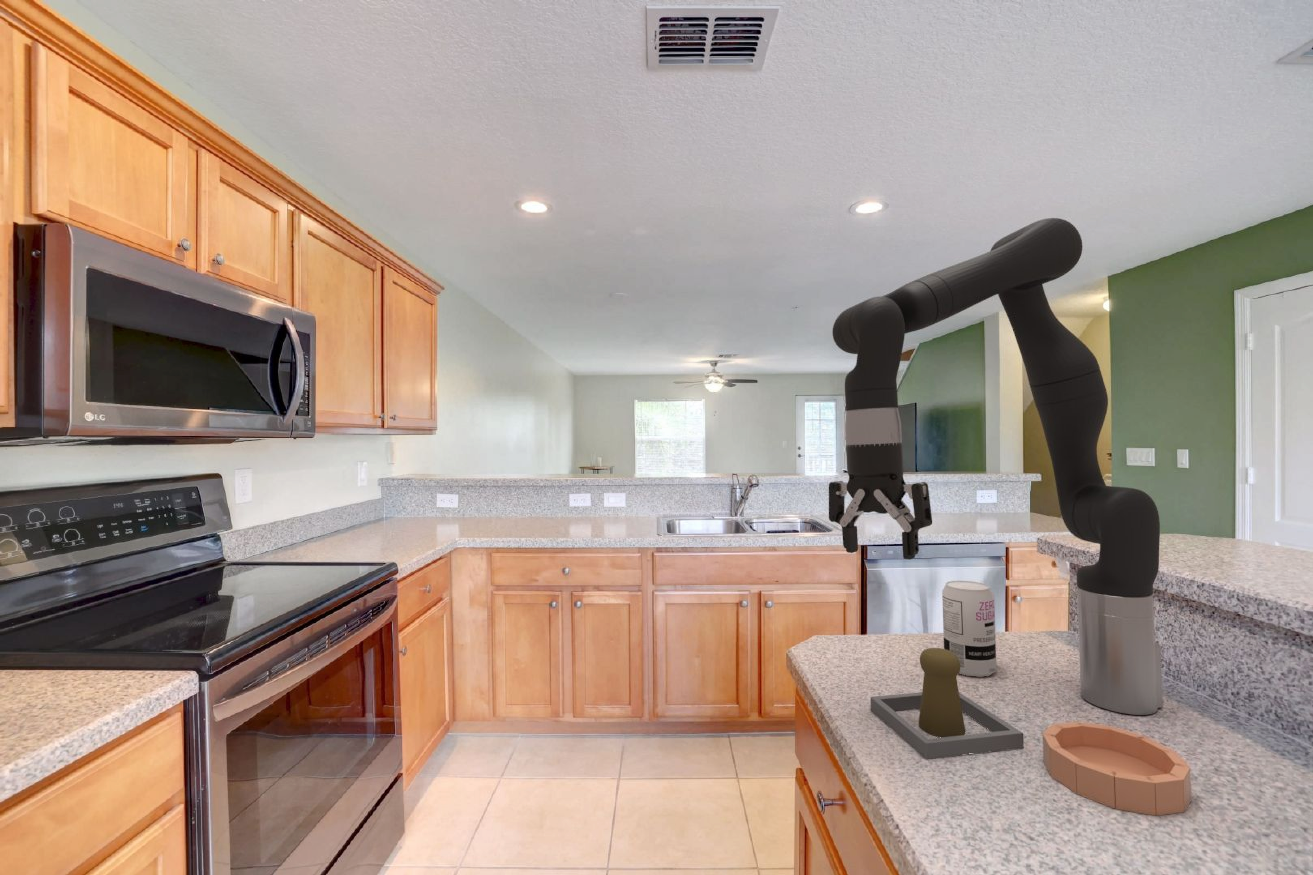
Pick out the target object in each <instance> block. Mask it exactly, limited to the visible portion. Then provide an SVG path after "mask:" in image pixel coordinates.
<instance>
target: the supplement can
mask: <svg viewBox="0 0 1313 875" xmlns="http://www.w3.org/2000/svg"><path fill="white" fill-rule="evenodd" d="M990 587H991V586H990V585H988V584H986V583H982V582H977V581H971V580H950V581H947V582H945V585H944V587H943V589H942V591H941V592H942V594H941V595H942V596H941V597H942V598H941V599H942V626H943V630H942V631H943V649H946V650H949V651H951V652H953V653H955V654H956V655H957V657H958V659H959V661H960V672H959V674H958V675H961V674H962V676H965V675H966V677H970V676H977V677H976V678H983V677H982V676H987V677H991V676H992V675H993V674H994V673H995V672H996V671H997V668H998V667H997V643H996V642H997V640H996V638H997V637H996V610H995V609H996V606H995V595H994V593H993V592H992V590H991V588H990ZM992 673H993V674H992ZM991 674H992V675H991ZM990 675H991V676H990ZM978 676H979V677H978Z"/></svg>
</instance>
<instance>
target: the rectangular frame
mask: <svg viewBox="0 0 1313 875" xmlns="http://www.w3.org/2000/svg"><path fill="white" fill-rule="evenodd" d="M959 696H960V702H961V708H962V711H963V712H964V713H963V712H962V713H963V714H965V713H966V714H967V715H966V714H965V715H966V716H968V715H969V716H970V717H969V716H968V717H969V718H971V719H972V718H973V719H972V720H974V719H975V720H976V721H975V720H974V721H975V722H977V723H978V722H979V723H981V724H982V725H983V726H982V725H981V724H980V725H981V726H982V727H984V728H985V727H986V728H985V729H987V728H988V729H989V730H988V729H987V730H988V732H981V733H971V734H965V735H960V736H951V737H942V738H940V737H934V738H928V737H927V736H926V735H924V734H923V733H922V732H921V731H920V730H918V729H917V728H916V727H914V725H913V724H911V723H909V722H908V720H906V719H905V718H904V717H902V716H901V715H900V714H899V713H898V712H899V711H907V710H918V709H919V710H920V707H921V698H922V691H921V692H918V691H917V692H910V693H900V694H899V693H898V694H888V695H877V696H870V711H871V712H872V713H873V714H875V715H876V716H877V717H878V718H879V719H880V720H882V721H883V723H885V724H886V725H888V727H889V728H890V729H891V730H893V731H894V732H895V733H896V734H897V735H898V736H900V737H901V738H902V739H903V740H905V741H904V742H907V744H909V745H910V746H911V747H912V749H915V750H916V751H917V752H918V753H919V754H920V755H921V756H923V757H924V759H926V760H930V759H940V758H948V757H959V756H964V755H963V754H968V755H970V754H969V753H977V754H984V753H983V752H986V753H990V752H989V751H995V752H1000V751H999V750H1003V751H1008V750H1007V749H1012V750H1018V749H1020V748H1021V749H1024V748H1025V747H1024V745H1025V744H1024V732H1022V731H1021V730H1019V729H1017V728H1016V727H1015V726H1013V725H1011V724H1010V723H1008V722H1007V721H1005V720H1004V719H1002V718H1000V717H999V716H997V715H996V714H994V713H992V712H991V711H989V710H988V709H986V708H985V707H983V706H982V705H979V704H978V703H977V702H975V701H974V700H972V699H970V698H969V697H967V696H966V695H964V694H963V693H960V692H959ZM979 723H978V724H979ZM981 752H982V753H981ZM958 755H959V756H958Z"/></svg>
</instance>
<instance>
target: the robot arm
mask: <svg viewBox="0 0 1313 875" xmlns="http://www.w3.org/2000/svg"><path fill="white" fill-rule="evenodd" d="M990 248H991V249H990V251H987V252H985V253H983V254H980V255H977V256H976V257H972V258H969V259H967V260H963V261H962V262H958V263H956V264H954V265H951V266H948V267H946V268H943V269H939V270H937V271H935V272H932V273H930V274H929V273H928V274H927V275H925V276H924V275H923V276H922V277H920V278H918V279H914V280H913V281H911V282H910V281H909V282H908V283H905V284H904V285H902V286H901V287H899V288H896V289H895V290H892V292H891V291H890V292H889V293H887V294H883V295H882V296H881V295H880V296H873V297H871V298H868V299H866V300H864V301H861V302H859V303H858V304H855V305H853V306H850V307H849V308H847V309H844V310H843V311H842V312H841V313H840V314H839V315H838V316H837V318H836V319H835V320H834V323H833V326H832V337H833V341H834V343H835V345H836V346H837V347H838V348H839V349H840V351H841V350H842V351H843V352H845V353H847V354H851V355H857V356H856V362H855V366H854V367H853V368H852V370H850V371H849V372H848V373H847V374H846V375H845V379H844V398H845V401H844V402H845V422H844V441H845V450H846V451H845V453H846V454H845V455H846V472H847V474H848V481H847V482H845V481H842V480H837V481H835V480H834V481H832V482H830V483H829V484H828V520H829V521H830V522H831V523H836V524H839V525H840V526H841V530H842V531H841V532H842V546H843V548H844V549H845V550H846V553H849V554H854V553H857V552H858V550H859V540H858V537H859V536H858V526H857V525H855V524H856V522H857V521H858V520H859V518H860V517H861V516H862V515H863V514H864V513H865V514H867V513H872V512H874V513H877V514H889V516H890V517H891V518H892V519H893V520H895V521H896V522H897V524H898V525H899V526H900V527H901V529H902V530H903V531H902V532H901V542H902V546H901V547H902V558H903V559H904V560H910V561H911V560H912V559H915V557H916V555H918V554H919V551H920V545H919V532H920V531H919V530H921V529H923V528H927V527H930V526H932V525H933V516H932V508H931V500H930V498H931V497H930V490H929V485H928V483H927V482H926V481H921V482H915V483H906V482H905V479H904V454H903V437H902V435H903V434H902V421H901V417H900V411H899V400H898V384H897V377H898V373H899V369H900V365H901V361H902V360H901V359H902V352H903V348H904V343H905V335H907V334H909V333H913V332H917V331H920V330H923V329H925V328H928V327H931V326H933V325H935V324H937V323H940V322H943V321H944V320H947V319H948V318H952V317H953V316H955V315H957V314H959V313H961V312H963V311H965V310H967V309H969V308H971V307H973V306H975V305H976V306H977V304H979V303H982V302H983V301H985V300H988V299H990V298H992V297H995V296H996V295H998V297H999V300H1000V302H1001V305H1002V307H1003V310H1004V311H1005V314H1006V316H1007V319H1008V321H1009V324H1010V326H1011V328H1012V330H1013V331H1012V332H1013V334H1014V336H1015V337H1014V338H1015V340H1016V343H1017V346H1018V349H1019V352H1020V355H1021V358H1022V362H1023V365H1024V368H1025V371H1026V377H1027V380H1028V385H1029V387H1030V391H1031V395H1032V398H1033V401H1034V404H1035V407H1036V411H1037V413H1038V415H1039V419H1040V421H1041V427H1042V429H1043V430H1042V431H1043V433H1044V436H1045V441H1046V444H1047V448H1048V451H1049V452H1048V453H1049V456H1050V459H1051V466H1052V470H1053V476H1054V482H1055V486H1056V493H1057V497H1058V498H1057V499H1058V500H1057V501H1058V504H1059V505H1058V506H1059V510H1060V514H1061V517H1062V521H1063V523H1064V525H1065V527H1066V528H1067V530H1068V531H1069V532H1070V534H1072V535H1073V536H1074V537H1075V538H1077V539H1079V540H1081V541H1085V542H1089V543H1092V544H1093V543H1094V544H1098V545H1099V556H1098V561H1096V562H1095V563H1093V564H1091V565H1085V566H1081V567H1079V568H1078V569H1077V571H1076V595H1077V596H1076V598H1077V601H1076V602H1077V603H1076V604H1077V623H1078V624H1077V626H1078V651H1079V658H1078V659H1079V680H1080V683H1079V684H1080V697H1082V699H1084V700H1085V701H1087V702H1088V703H1090V704H1092V705H1094V706H1097V707H1099V708H1102V709H1105V710H1108V711H1112V712H1114V713H1115V712H1116V713H1120V714H1125V715H1127V714H1128V715H1133V716H1134V715H1135V716H1136V715H1137V716H1145V715H1152V714H1155V713H1156V712H1158V709H1160V708H1163V707H1164V704H1163V703H1164V702H1163V701H1164V700H1163V680H1162V679H1163V678H1162V677H1163V675H1162V674H1163V673H1162V650H1161V649H1162V647H1161V645H1160V643H1159V642H1157V641H1156V638H1155V615H1154V614H1155V613H1154V584H1155V582H1156V578H1157V576H1158V573H1159V568H1160V542H1161V541H1160V540H1161V539H1160V536H1161V530H1160V529H1161V526H1160V523H1161V522H1160V515H1159V511H1158V507H1157V504H1156V502H1155V501H1154V499H1153V498H1152V497H1151V495H1149V494H1148V493H1147V492H1145V491H1143V490H1141V489H1137V488H1134V487H1126V486H1125V487H1123V486H1112V485H1107V484H1106V482H1105V480H1104V478H1103V477H1104V476H1103V474H1102V472H1101V468H1100V464H1099V460H1098V449H1097V448H1098V442H1099V438H1100V435H1101V432H1102V428H1103V426H1104V423H1105V419H1106V417H1107V416H1106V415H1107V412H1108V406H1109V397H1108V396H1109V395H1108V393H1107V388H1106V385H1105V381H1104V378H1103V374H1102V371H1101V368H1100V365H1099V363H1098V360H1097V357H1096V356H1095V354H1094V353H1093V352H1092V351H1091V350H1090V349H1089V347H1088V346H1087V345H1086V344H1085V343H1084V342H1083V341H1082V340H1080V338H1078V337H1077V336H1076V335H1075V334H1074V333H1073V332H1071V330H1069V329H1068V328H1067V327H1066V326H1065V325H1064V324H1063V323H1062V322H1060V320H1059V319H1058V318H1057V317H1056V315H1055V313H1054V312H1053V310H1052V308H1051V306H1050V304H1049V301H1048V298H1047V295H1046V292H1045V289H1044V285H1043V284H1046V283H1050V282H1053V281H1055V280H1056V279H1059V278H1061V277H1063V276H1065V275H1066V274H1067V273H1069V272H1070V271H1072V270H1073V269H1074V268H1075V266H1076V265H1077V264H1078V263H1079V260H1080V259H1081V257H1082V253H1083V241H1082V236H1081V234H1080V232H1079V230H1078V229H1077V228H1076V226H1074V224H1072V223H1071V222H1070V221H1068V220H1066V219H1063V218H1057V217H1049V218H1044V219H1040V220H1037V221H1034V222H1031V223H1030V224H1028V225H1026V226H1024V227H1022V228H1019V229H1018V230H1015V231H1013V232H1011V233H1009V234H1007V235H1005V236H1003V237H1002V238H1000V239H998V240H997V241H996V242H995V243H994V244H993V245H992V247H990ZM847 493H848V495H849V496H850V497H851V501H850V502H849V504H848V505H847V507H845V501H846V500H845V496H846V495H847ZM906 493H907V494H908V497H909V498H910V499H911V500H912V507H913V515H914V516H913V515H912V512H911V509H910V508H909V507H908V505H907V504H906V503H905V502H904V500H903V498H904V496H905V495H906ZM845 508H846V509H845Z"/></svg>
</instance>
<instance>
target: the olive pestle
mask: <svg viewBox="0 0 1313 875" xmlns="http://www.w3.org/2000/svg"><path fill="white" fill-rule="evenodd" d="M919 656H920V657H919V664H920V668H921V669H922V671H923V672H924V673H923V680H922V681H923V682H922V690H921V692H922V698H921V707H920V709H919V717H918V727H919V728H920V729H921V730H922V731H923V732H925V733H927V734H929V735H931V736H933V737H937V736H938V737H937V738H940V737H941V738H942V737H951V736H960V735H966V733H967V732H966V726H965V721H964V713H963V712H962V708H961V702H960V696H959V693H960V690H959V684H958V679H957V676H958V675H960V674H959V672H960V661H959V659H958V657H957V655H956V654H955V653H953V652H951V651H949V650H946V649H944V648H940V647H929V648H926V649H923V650H922V652H921V653H920V655H919ZM965 732H966V733H965Z"/></svg>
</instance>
